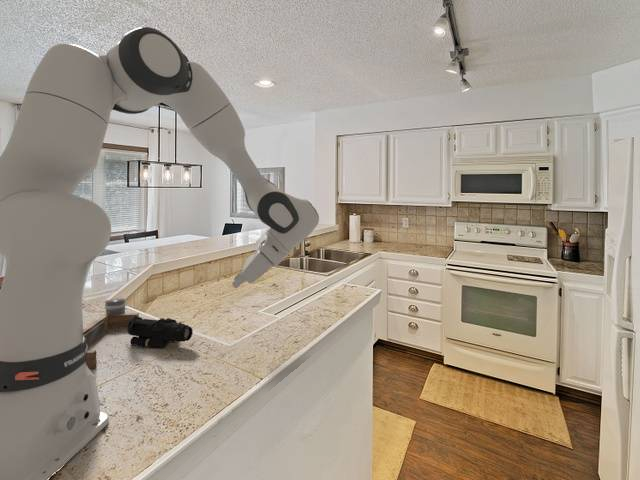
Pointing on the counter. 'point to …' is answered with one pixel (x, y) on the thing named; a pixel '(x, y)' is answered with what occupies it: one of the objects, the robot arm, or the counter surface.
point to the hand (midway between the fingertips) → (234, 283)
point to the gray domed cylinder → (115, 306)
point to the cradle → (101, 326)
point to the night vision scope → (157, 332)
